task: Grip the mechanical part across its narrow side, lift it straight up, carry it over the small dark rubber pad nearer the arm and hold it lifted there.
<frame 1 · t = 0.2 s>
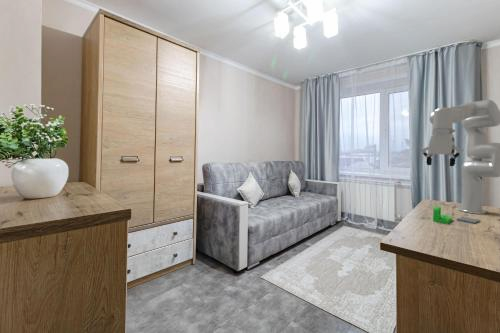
hand: (440, 165, 119), 30 cm above the table, tool pointing down, fingers open, 9 cm apart
mechanical part: (442, 221, 124), on the table
dark rubber pad: (468, 220, 123), on the table
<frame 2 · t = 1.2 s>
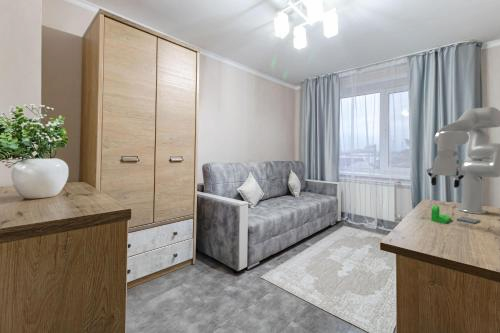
hand: (444, 186, 123), 19 cm above the table, tool pointing down, fingers open, 9 cm apart
nothing on the table moved.
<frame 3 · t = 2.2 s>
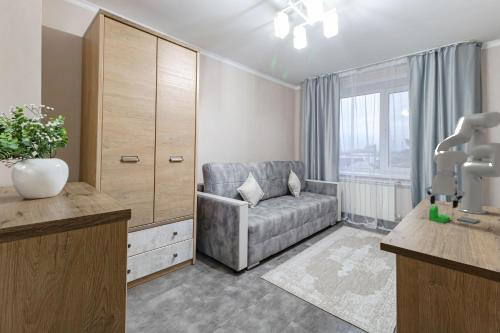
hand: (443, 205, 123), 8 cm above the table, tool pointing down, fingers open, 9 cm apart
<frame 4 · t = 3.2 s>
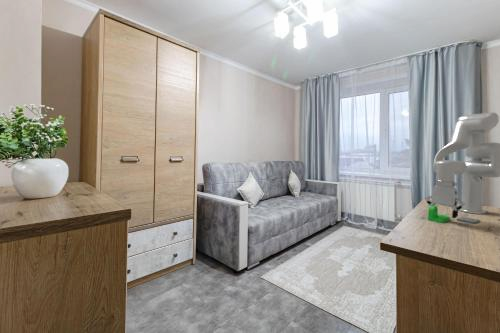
hand: (443, 215, 124), 3 cm above the table, tool pointing down, fingers open, 9 cm apart
mechanical part: (439, 220, 125), on the table, touching gripper
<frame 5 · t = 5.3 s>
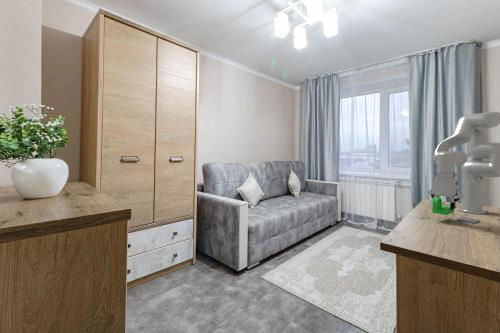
hand: (444, 207, 124), 7 cm above the table, tool pointing down, fingers closed on mechanical part, 6 cm apart
mechanical part: (444, 212, 124), point 4 cm above the table, touching gripper
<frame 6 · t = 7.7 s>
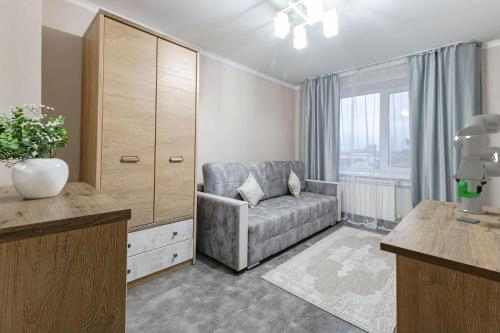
hand: (470, 191, 122), 16 cm above the table, tool pointing down, fingers closed on mechanical part, 6 cm apart
mechanical part: (469, 196, 123), point 13 cm above the table, touching gripper
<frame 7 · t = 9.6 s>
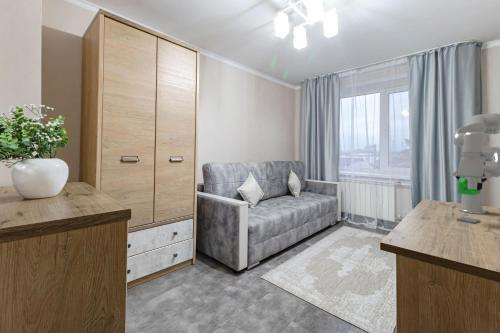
hand: (470, 188, 122), 17 cm above the table, tool pointing down, fingers closed on mechanical part, 6 cm apart
mechanical part: (470, 193, 122), point 15 cm above the table, touching gripper
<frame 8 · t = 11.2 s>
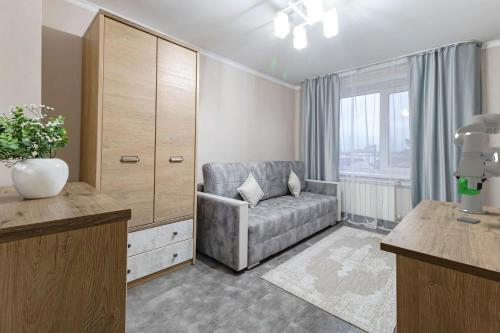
hand: (470, 188, 122), 17 cm above the table, tool pointing down, fingers closed on mechanical part, 6 cm apart
mechanical part: (470, 193, 122), point 15 cm above the table, touching gripper
at the end: the gripper is holding mechanical part; mechanical part inside the target area (0.2 cm from its centre), point 14.9 cm above the table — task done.
